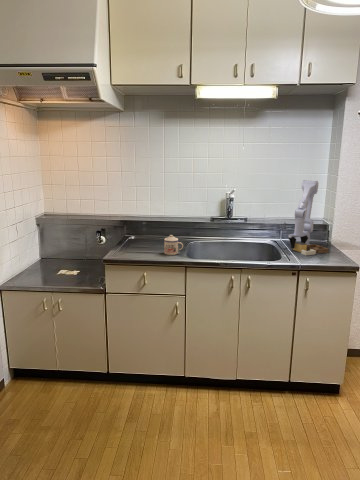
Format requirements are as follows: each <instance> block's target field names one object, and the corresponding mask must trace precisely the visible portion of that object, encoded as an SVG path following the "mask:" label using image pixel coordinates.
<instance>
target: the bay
mask: <svg viewBox="0 0 360 480" xmlns="http://www.w3.org/2000/svg"><path fill="white" fill-rule="evenodd" d="M300 254H301V255H304V256H311V255H312V256H313V255H316V254H317V253H316V250H313V249H310V250H306V251H305V250H301V252H300Z"/></svg>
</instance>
